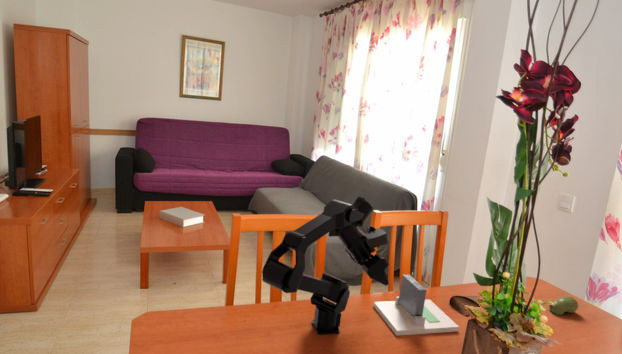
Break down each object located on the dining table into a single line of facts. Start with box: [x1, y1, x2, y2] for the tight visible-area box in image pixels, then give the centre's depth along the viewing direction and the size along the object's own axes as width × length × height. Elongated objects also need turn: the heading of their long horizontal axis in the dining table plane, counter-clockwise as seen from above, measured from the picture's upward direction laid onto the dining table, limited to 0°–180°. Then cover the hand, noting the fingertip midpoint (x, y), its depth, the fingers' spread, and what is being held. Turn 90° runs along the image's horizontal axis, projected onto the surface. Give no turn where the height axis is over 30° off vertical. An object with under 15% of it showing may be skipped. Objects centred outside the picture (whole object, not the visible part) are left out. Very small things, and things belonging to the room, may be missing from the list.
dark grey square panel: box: [398, 274, 427, 318], centre depth 123 cm, size 2×10×10 cm, turn 15°
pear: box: [548, 295, 579, 316], centre depth 139 cm, size 6×5×10 cm
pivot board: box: [372, 295, 460, 337], centre depth 125 cm, size 20×16×4 cm
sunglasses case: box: [448, 295, 480, 317], centre depth 136 cm, size 18×7×7 cm, turn 104°
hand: (380, 277), depth 119 cm, fingers open, 9 cm apart
